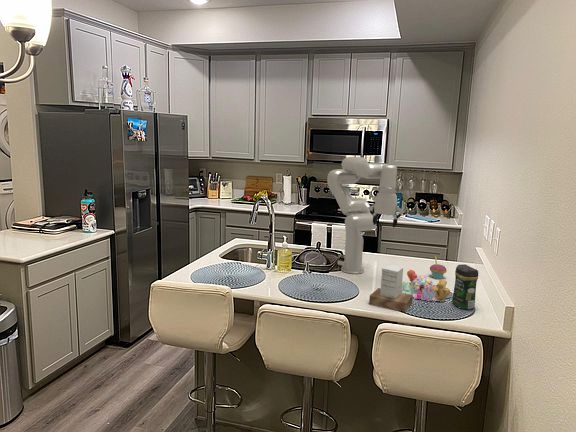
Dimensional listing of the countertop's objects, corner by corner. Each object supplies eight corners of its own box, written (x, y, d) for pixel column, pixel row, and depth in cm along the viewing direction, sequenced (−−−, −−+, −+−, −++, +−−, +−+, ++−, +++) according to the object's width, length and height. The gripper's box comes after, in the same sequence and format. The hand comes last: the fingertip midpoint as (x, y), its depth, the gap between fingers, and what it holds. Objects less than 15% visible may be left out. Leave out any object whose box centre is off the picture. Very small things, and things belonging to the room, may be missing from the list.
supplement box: (385, 290, 201) (387, 264, 198) (401, 294, 197) (403, 267, 194) (379, 295, 195) (381, 267, 192) (395, 299, 191) (398, 271, 188)
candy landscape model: (453, 290, 217) (455, 272, 215) (448, 307, 196) (451, 287, 194) (401, 282, 227) (403, 264, 226) (392, 296, 206) (394, 277, 204)
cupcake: (428, 278, 234) (430, 256, 232) (429, 273, 242) (431, 252, 239) (445, 280, 231) (447, 258, 229) (446, 276, 239) (448, 254, 236)
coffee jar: (448, 302, 200) (452, 263, 197) (463, 301, 202) (468, 262, 199) (461, 311, 191) (466, 269, 188) (477, 309, 193) (482, 269, 190)
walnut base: (368, 304, 195) (369, 295, 194) (377, 296, 205) (378, 287, 204) (405, 312, 187) (405, 303, 187) (412, 303, 198) (412, 295, 197)
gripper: (367, 189, 213) (365, 224, 216) (403, 193, 205) (400, 229, 208) (372, 188, 219) (370, 222, 223) (407, 191, 211) (404, 226, 214)
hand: (384, 225), depth 215 cm, fingers open, 9 cm apart
